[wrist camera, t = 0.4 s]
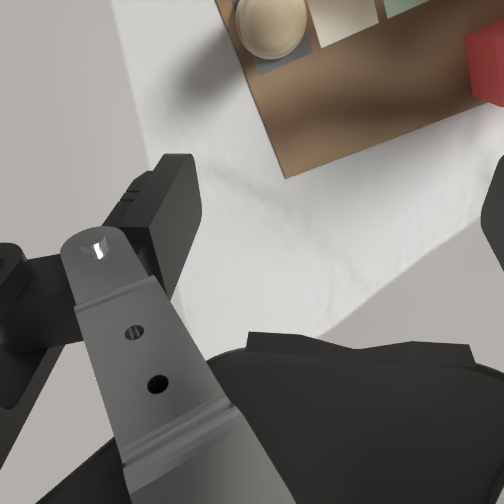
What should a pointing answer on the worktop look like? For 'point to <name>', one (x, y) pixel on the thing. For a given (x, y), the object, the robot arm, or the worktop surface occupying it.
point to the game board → (363, 74)
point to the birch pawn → (270, 26)
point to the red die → (487, 62)
